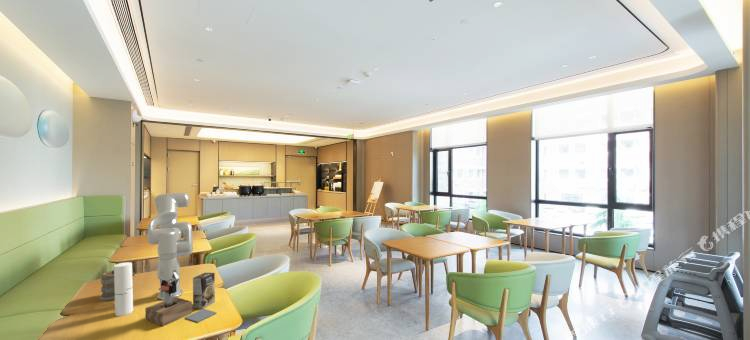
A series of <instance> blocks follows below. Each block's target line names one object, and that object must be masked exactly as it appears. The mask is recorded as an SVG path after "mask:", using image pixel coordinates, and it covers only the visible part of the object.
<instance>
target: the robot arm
mask: <svg viewBox="0 0 750 340" xmlns="http://www.w3.org/2000/svg"><path fill="white" fill-rule="evenodd" d="M190 201H191V199H190V195H189V194H188V193H187V192H174V193H173V192H172V193H171V192H170V193H163V194H162V193H161V194H158V195H156V196H155V198H154V205H155V208H156V210H157V213H158V214H157V215H156V216H155V217H153V219H151V221H150V222H149V223H148V226H147V235H146V238H147V243H148V244H150V245H153V246H154V245H157V254H158V260H157V269H156V270H157V271H156V278H157V279H159V281H160V282H159V288H158V291H160V293H158V294H157V296H156V297H157V300H162V301H165V299H164V291H161V286H162V285H163V284H166V283H170V286H169V294H172V293H173V297H177V298H179V297H180V296H182V295H183V294H184V290H183V289H181V277H180V276H181V275H180V273H181V271H180V270H181V269H180V262H179V261H178V259H177V258H178V257H184V256H189V255H191V254H193V251H194V239H193V238H194V237H193V236H194V234H193V226H192V223H190V222H189V221H183V222H182V221H180V222H178V208H187V207H188V206H189V205H190ZM159 227H160V228H159Z"/></svg>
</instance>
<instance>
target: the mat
mask: <svg viewBox="0 0 750 340" xmlns="http://www.w3.org/2000/svg"><path fill="white" fill-rule="evenodd" d="M216 314H218V313H217V312H215V311H212V310H210V309H206V308H204V309H200V310H197V311H196V312H192V313H191V314H189V315H187V316H185V317H184V319H185V320H188V321H192V322H194V323H200V322H203V321H204V320H206V319H208V318H211V317H212V316H215V315H216Z"/></svg>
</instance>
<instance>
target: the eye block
mask: <svg viewBox="0 0 750 340" xmlns="http://www.w3.org/2000/svg"><path fill="white" fill-rule="evenodd" d="M144 309H145V311H144V312H145V321H146V322H150V323H153V324H156V325H158V326H160V327H164V326H167V325H169V324H171V323H174V322H176V321H178V320H180V319H182V318H185V317H187V316H189V315H191V314H193V300H188V299H184V298H180V297H173V306H171V307H168V308H165V300H162V301H160V302H158V303H155V304H152V305H149V306H147V307H145V308H144Z"/></svg>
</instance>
